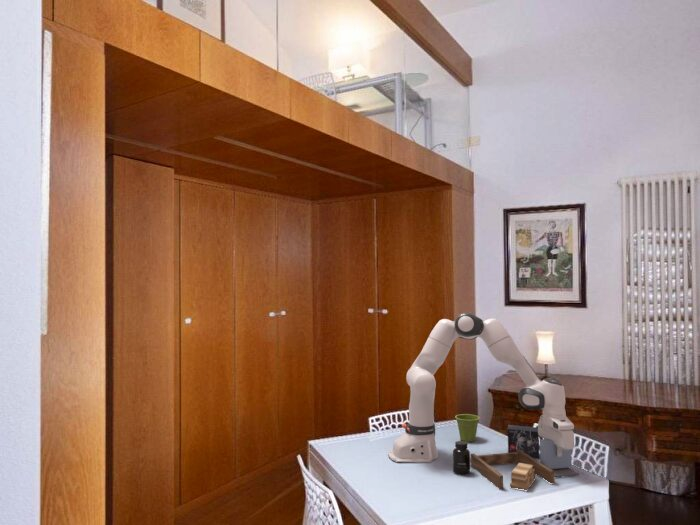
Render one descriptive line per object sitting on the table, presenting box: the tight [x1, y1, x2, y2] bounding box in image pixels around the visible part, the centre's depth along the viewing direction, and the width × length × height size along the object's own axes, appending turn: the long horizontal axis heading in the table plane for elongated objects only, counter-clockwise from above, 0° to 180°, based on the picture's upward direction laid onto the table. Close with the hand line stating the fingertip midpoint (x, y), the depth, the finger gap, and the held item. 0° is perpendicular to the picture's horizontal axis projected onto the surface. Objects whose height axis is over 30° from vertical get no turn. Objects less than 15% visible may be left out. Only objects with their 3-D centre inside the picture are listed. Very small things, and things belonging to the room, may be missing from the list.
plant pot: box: [454, 413, 480, 443], centre depth 246 cm, size 12×12×11 cm
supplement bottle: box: [452, 440, 471, 476], centre depth 204 cm, size 7×7×12 cm
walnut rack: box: [470, 450, 555, 490], centre depth 201 cm, size 22×26×5 cm
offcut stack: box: [509, 463, 537, 490], centre depth 191 cm, size 14×6×6 cm, turn 147°
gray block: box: [539, 438, 573, 469], centre depth 203 cm, size 12×3×11 cm, turn 101°
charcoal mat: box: [552, 467, 580, 478], centre depth 203 cm, size 12×12×1 cm
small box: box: [507, 424, 540, 460], centre depth 223 cm, size 13×7×12 cm, turn 70°
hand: (555, 454), depth 203 cm, fingers closed on gray block, 3 cm apart
